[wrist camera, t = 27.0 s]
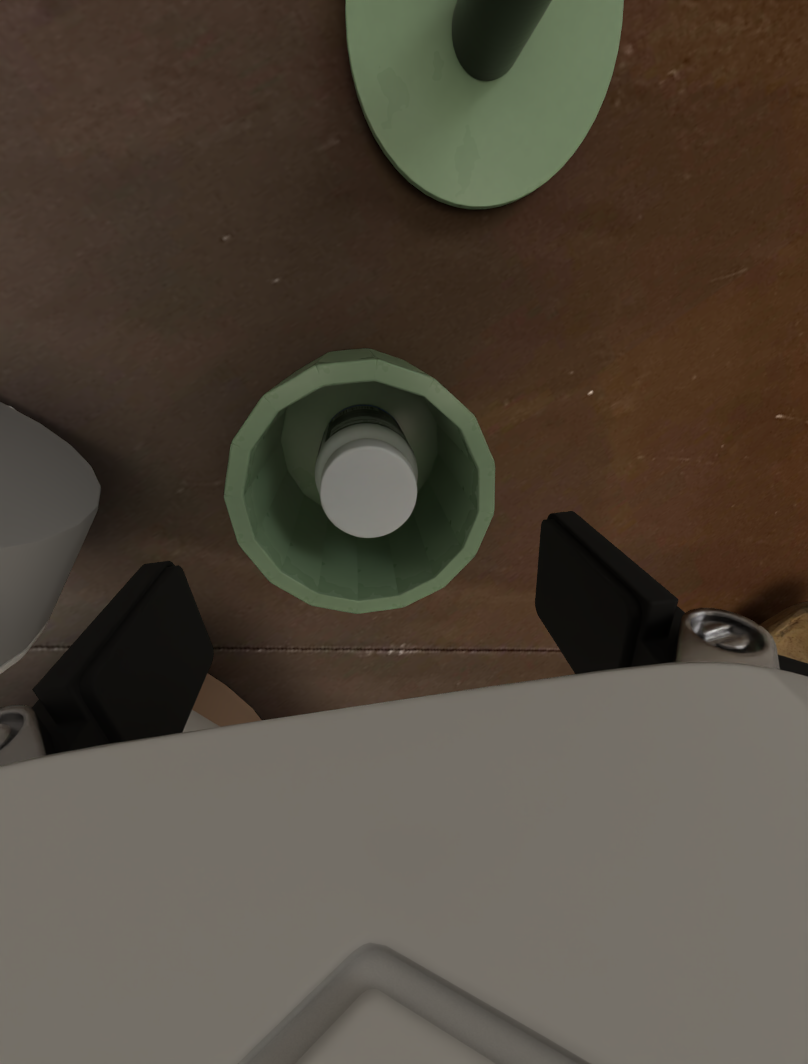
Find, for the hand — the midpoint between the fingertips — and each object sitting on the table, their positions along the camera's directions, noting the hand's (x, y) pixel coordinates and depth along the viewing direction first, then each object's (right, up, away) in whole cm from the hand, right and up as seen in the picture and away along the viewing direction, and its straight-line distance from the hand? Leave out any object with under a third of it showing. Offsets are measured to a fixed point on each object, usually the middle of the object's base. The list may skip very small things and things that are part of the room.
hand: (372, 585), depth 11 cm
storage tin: (-2, +7, +14) cm, 15 cm away
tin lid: (+4, +22, +6) cm, 23 cm away
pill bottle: (-2, +7, +13) cm, 15 cm away
